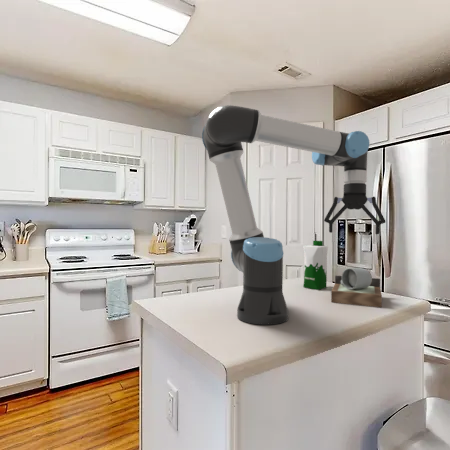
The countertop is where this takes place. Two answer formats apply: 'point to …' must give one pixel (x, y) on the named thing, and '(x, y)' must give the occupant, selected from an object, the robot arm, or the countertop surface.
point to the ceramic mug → (356, 278)
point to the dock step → (357, 294)
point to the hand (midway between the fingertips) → (353, 242)
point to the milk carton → (315, 265)
